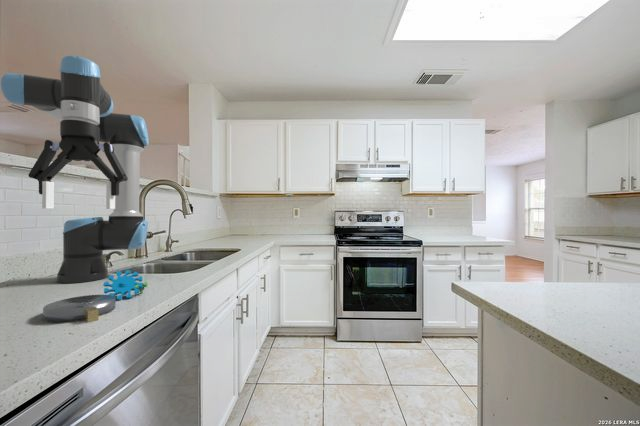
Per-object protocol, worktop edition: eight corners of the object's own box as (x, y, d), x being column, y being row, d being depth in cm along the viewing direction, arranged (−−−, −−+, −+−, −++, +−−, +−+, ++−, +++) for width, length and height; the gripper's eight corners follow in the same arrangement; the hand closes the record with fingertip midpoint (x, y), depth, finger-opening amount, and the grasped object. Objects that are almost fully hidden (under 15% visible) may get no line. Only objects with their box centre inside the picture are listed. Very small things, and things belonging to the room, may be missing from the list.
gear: (97, 297, 81) (109, 267, 88) (99, 307, 84) (111, 278, 91) (142, 298, 85) (150, 270, 92) (143, 308, 88) (150, 280, 95)
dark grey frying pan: (37, 313, 72) (38, 303, 72) (105, 300, 83) (105, 291, 83) (52, 330, 62) (52, 318, 62) (127, 313, 73) (127, 303, 73)
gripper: (7, 114, 66) (7, 208, 66) (129, 121, 71) (129, 208, 71) (33, 124, 73) (32, 208, 73) (142, 130, 78) (141, 209, 78)
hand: (80, 208), depth 72 cm, fingers open, 13 cm apart
